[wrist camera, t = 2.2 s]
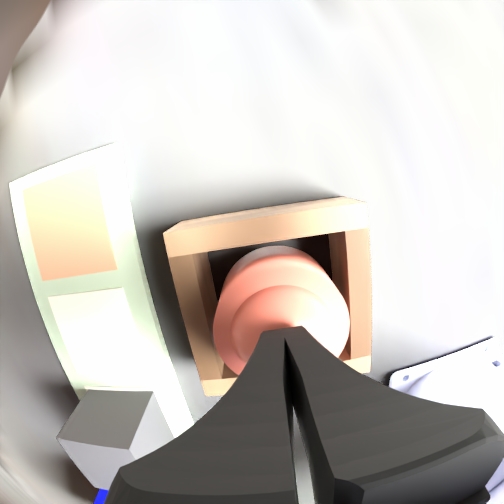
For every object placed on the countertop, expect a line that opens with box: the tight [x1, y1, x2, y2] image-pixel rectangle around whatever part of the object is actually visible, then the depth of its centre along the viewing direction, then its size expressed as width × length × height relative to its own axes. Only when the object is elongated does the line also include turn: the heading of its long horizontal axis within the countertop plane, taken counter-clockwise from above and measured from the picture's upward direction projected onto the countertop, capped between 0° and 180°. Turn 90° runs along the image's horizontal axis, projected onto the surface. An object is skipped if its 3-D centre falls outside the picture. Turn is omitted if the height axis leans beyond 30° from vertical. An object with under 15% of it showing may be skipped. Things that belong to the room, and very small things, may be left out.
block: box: [56, 389, 175, 490], centre depth 15 cm, size 5×5×5 cm
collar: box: [163, 197, 372, 396], centre depth 14 cm, size 8×8×3 cm
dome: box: [213, 245, 350, 375], centre depth 12 cm, size 5×5×4 cm
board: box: [9, 143, 194, 438], centre depth 16 cm, size 8×20×1 cm, turn 9°
